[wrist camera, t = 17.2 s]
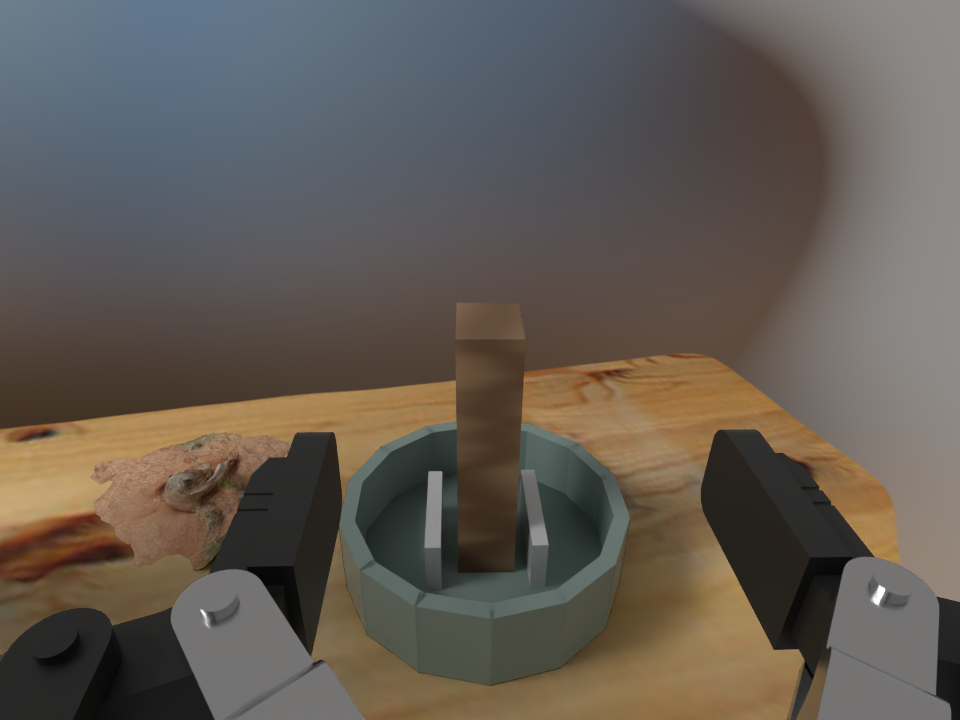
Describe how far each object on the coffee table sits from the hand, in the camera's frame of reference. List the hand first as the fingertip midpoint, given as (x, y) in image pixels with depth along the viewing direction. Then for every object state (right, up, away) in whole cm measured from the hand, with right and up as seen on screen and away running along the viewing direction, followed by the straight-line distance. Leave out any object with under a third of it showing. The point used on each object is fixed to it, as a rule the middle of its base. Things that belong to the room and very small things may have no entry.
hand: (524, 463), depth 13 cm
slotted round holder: (-1, -9, +22) cm, 24 cm away
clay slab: (-20, -8, +27) cm, 34 cm away
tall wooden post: (-1, -8, +22) cm, 23 cm away
